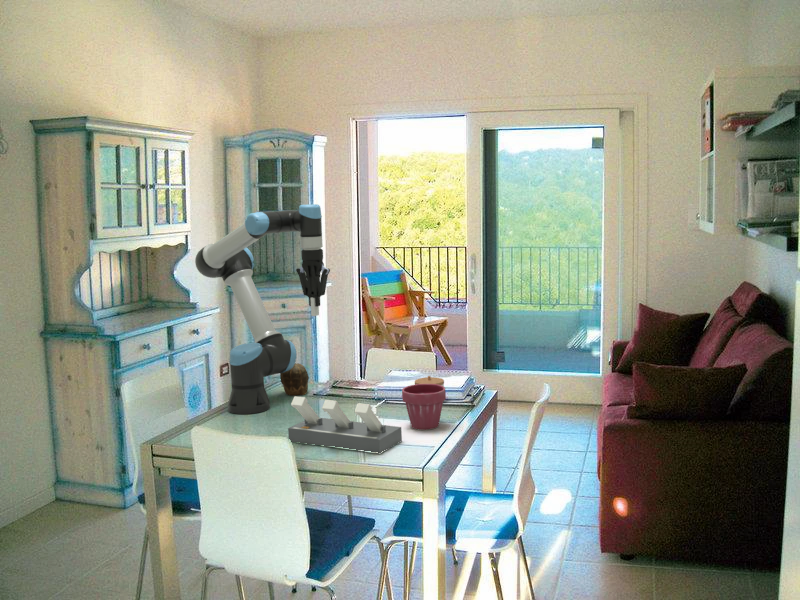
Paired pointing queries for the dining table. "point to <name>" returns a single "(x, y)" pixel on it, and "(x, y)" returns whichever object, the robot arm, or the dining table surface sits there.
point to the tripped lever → (305, 409)
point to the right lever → (368, 417)
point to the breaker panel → (345, 435)
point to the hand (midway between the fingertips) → (315, 315)
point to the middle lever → (336, 413)
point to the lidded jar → (430, 381)
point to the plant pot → (424, 404)
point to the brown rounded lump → (295, 380)
